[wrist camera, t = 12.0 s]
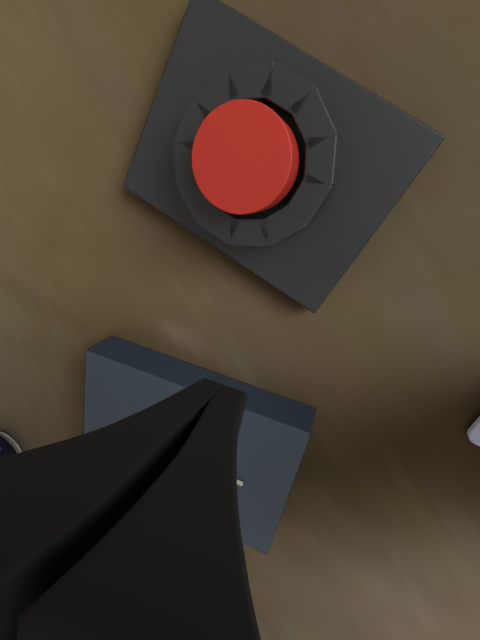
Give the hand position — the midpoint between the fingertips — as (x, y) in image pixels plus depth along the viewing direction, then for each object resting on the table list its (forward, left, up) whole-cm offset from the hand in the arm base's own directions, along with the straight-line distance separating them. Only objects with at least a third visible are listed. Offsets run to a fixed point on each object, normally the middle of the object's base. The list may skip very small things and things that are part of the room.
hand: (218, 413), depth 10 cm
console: (+2, +11, -10) cm, 15 cm away
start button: (+4, -6, -8) cm, 11 cm away
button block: (+4, -6, -10) cm, 13 cm away
